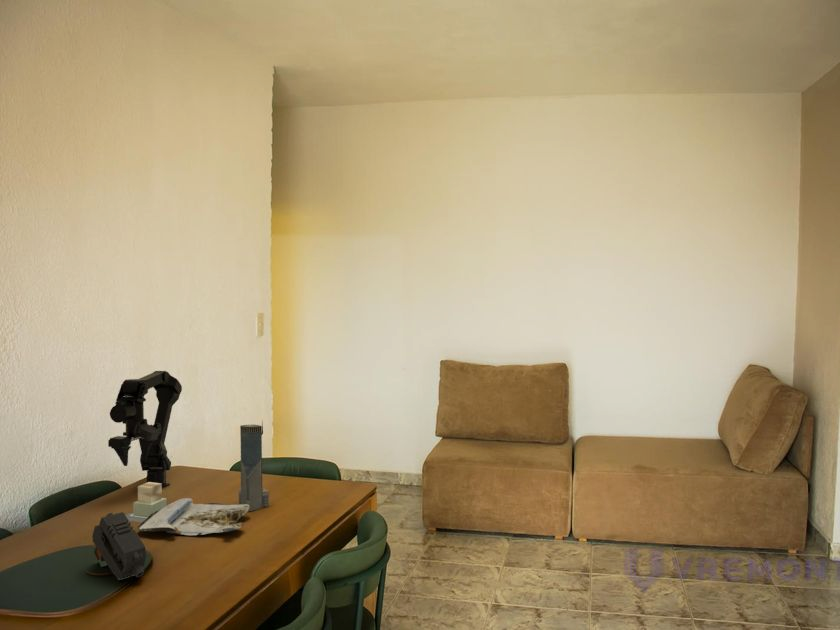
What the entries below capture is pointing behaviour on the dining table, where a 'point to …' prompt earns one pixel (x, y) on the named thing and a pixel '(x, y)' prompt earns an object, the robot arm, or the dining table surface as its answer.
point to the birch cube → (149, 492)
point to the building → (252, 468)
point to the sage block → (148, 507)
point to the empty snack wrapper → (195, 518)
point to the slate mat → (135, 517)
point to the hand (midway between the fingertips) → (135, 462)
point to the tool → (119, 546)
